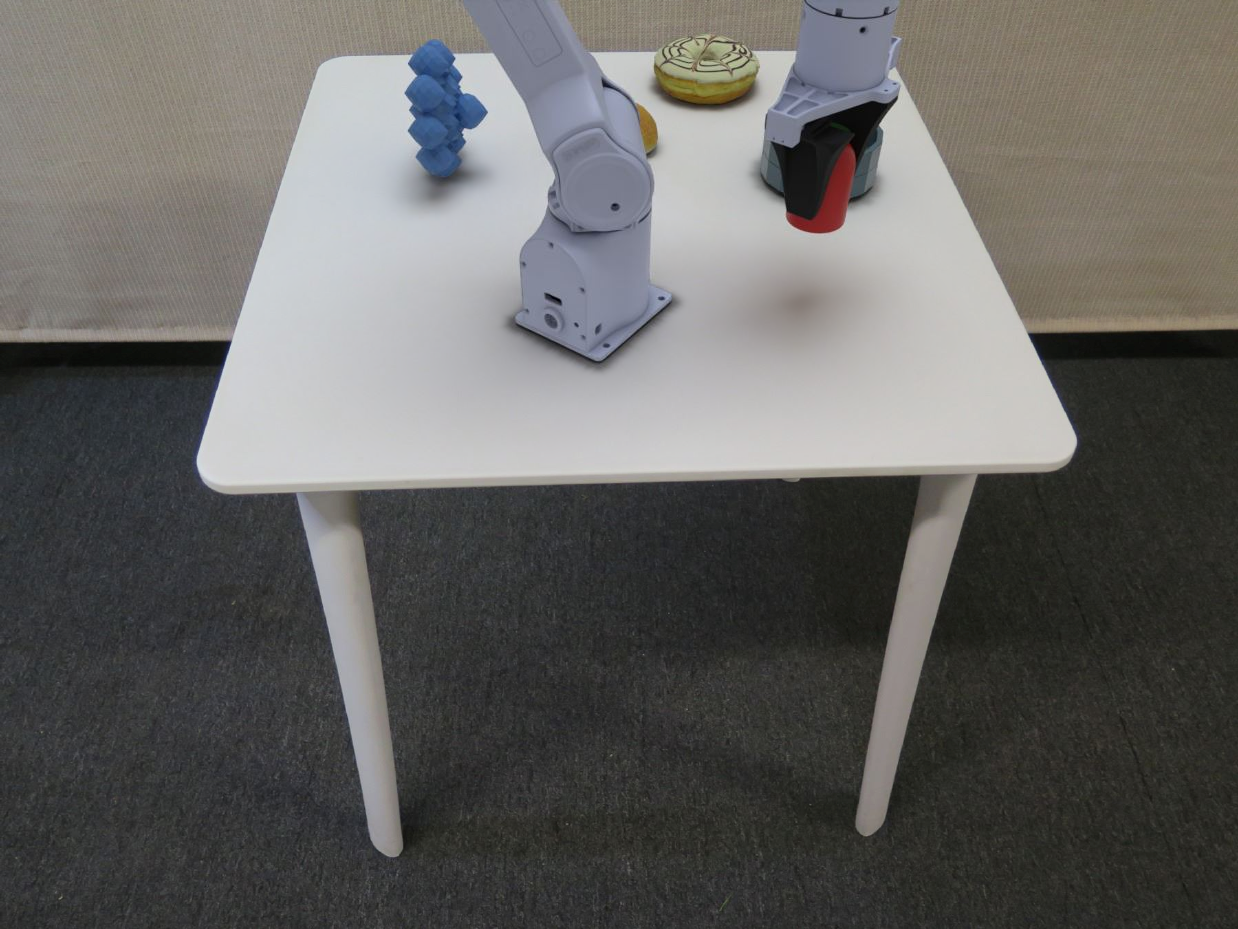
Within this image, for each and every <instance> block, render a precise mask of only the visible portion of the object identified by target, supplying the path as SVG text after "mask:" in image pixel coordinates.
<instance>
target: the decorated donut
mask: <svg viewBox="0 0 1238 929" xmlns="http://www.w3.org/2000/svg"><path fill="white" fill-rule="evenodd" d="M760 68H761V64H760V62H759V59H758V57H757V55H756V54H755V53H754V51H752V50H751V49H750V48H749V47H748V46H747V45H745V44H744V43H742V42H739V41H736V40H735V39H732V38H729V37H726V36H722V35H717V34H710V33H699V34H695V35H689V36H685V37H682V38H681V37H680V38H676V39H673V40H670V41H669V42H668V43H666V44H665V45H663V46H662V47H659V49H658V50H657V52H656V53H655V55H654V61H653V72H654V75H655V78H656V81H657V82H658V84H659V85H660V87H661V88H662V90H664V91H665V92H666V93H668V94H669V95H671V97H673V98H675V99H677V100H681V101H684V102H688V103H694V104H697V105H704V104H706V105H716V104H726V103H728V102H729V101H732V100H733V101H734V100H735V99H737V98H740V97H742V96H743V95H745V94H746V93H747V92H748V91H749V90H750V89H751V87H752V86H753V85H754V83H755V82H756V79H757V75H758V73H759V70H760Z"/></svg>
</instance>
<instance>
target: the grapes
mask: <svg viewBox="0 0 1238 929" xmlns="http://www.w3.org/2000/svg"><path fill="white" fill-rule="evenodd" d="M456 60H457V59H456V56H455V55H454V54H453V52H452V51H451V50H450V48H448V47H447V45H445V43H444V42H443V41H441V40H439V39H436V38H433V39H429V40H427V41H426V42H425V43H424V44H423V45H421V46H419V47H418V48H416V50H415V51H414V52H413V54H412V55H411V57H410V59H409V60H408V62H407V65H408V66H409V68H410V69H411V71H412V72H413V73H414V74H415V76H416V77H414V78H413V79H412V81H411V82H410V83H409V85H408V86H407V88H406V89H405V90H404V95H405V97H406V99H408V101H409V102H410V103H411V105H410V107H409V109H408V111H409V112H410V114H411V115H412V116H413V118H414V120H413V122H412V123H411V124H410V126H409V127H408V129H407V133H408V134H409V135H410V136H411V138H412V139H413V140H414V141H415V143H416V144H417V145H419V146H420V147H421V148H420V149H418V152H417V153H416V155H415V158H416V160H417V161H418V163H419V164H420V165H421V167H422V168H424V170H425V171H427V172H428V173H429V174H433V175H436V176H438V177H443V178H448V177H450V176H451V175H453V173H454V172H456V170H457V169H458V168H459V166H460V165H461V163H462V162H463V160H462V158H461V157H460V156H459V152H461V150H462V149H463V148H464V146H465V145H466V144H467V140H466V139H465V138H464V133H463V132H464V130H465V129H466V130H473V129H476V128H477V127H478V126H479V125H480V124H481V123H482V122H483V121H484V119H486V116H487V115H488V113H489V111H488V110H487V109H486V107H485V106H484V105H483V103H482V102H481V101H480V100H479V99H478V97H477V96H476V95H474V94H472V93H464V92H463V91H462V90H461V88H462V86H461V85H460V83H461V81H462V79H463V75H462V74H461V73H460V71H459V70H458V69H457V67H456V66H455V65H454V63H455V61H456Z"/></svg>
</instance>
